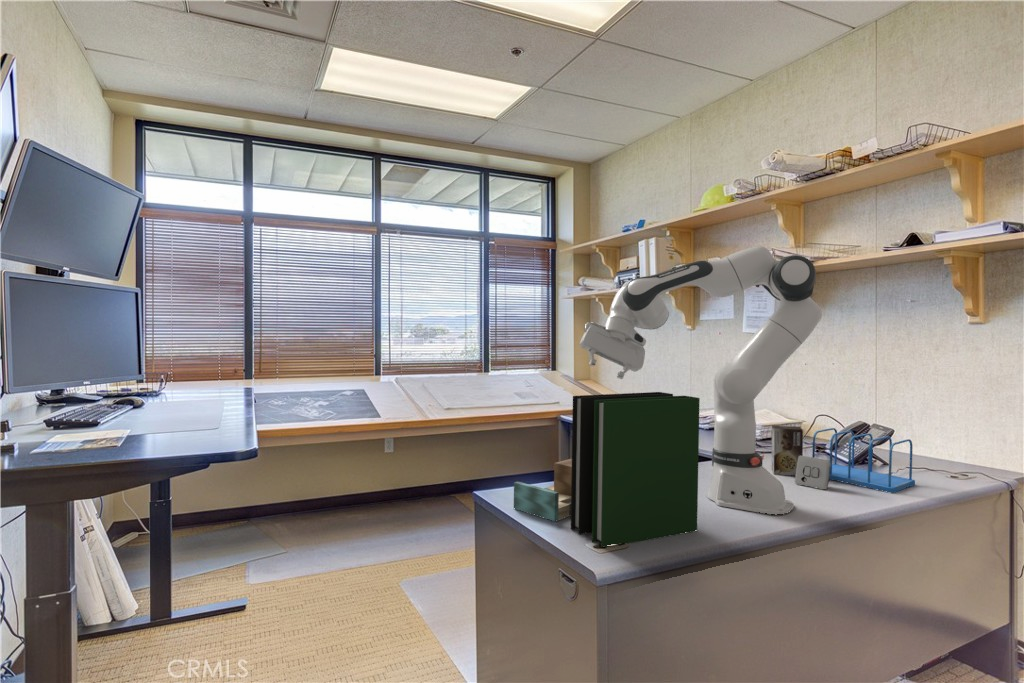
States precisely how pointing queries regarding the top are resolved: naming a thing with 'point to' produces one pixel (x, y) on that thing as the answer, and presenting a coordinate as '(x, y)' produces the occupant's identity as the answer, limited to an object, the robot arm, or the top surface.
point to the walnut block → (563, 477)
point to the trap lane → (541, 501)
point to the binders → (634, 466)
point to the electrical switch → (812, 472)
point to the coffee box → (786, 449)
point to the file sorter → (868, 476)
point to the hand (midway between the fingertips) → (605, 371)
